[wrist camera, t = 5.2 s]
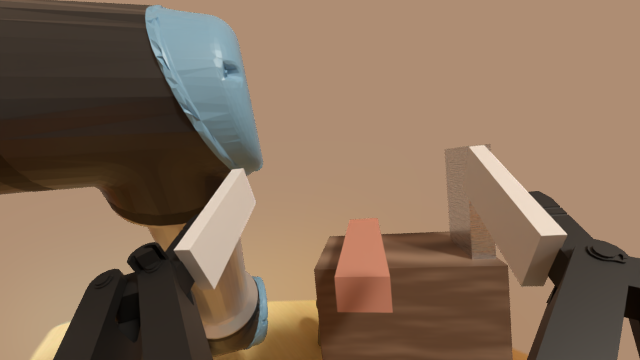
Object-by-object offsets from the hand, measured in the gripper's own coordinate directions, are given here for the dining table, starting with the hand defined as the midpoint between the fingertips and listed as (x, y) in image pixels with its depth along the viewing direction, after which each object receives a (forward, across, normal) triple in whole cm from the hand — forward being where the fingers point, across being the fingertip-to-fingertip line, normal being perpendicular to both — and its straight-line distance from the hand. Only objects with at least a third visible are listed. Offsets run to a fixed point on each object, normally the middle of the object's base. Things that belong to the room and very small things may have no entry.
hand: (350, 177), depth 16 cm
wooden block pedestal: (-2, +4, -47) cm, 47 cm away
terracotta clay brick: (+8, 0, -18) cm, 20 cm away
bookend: (+12, +13, -20) cm, 27 cm away
